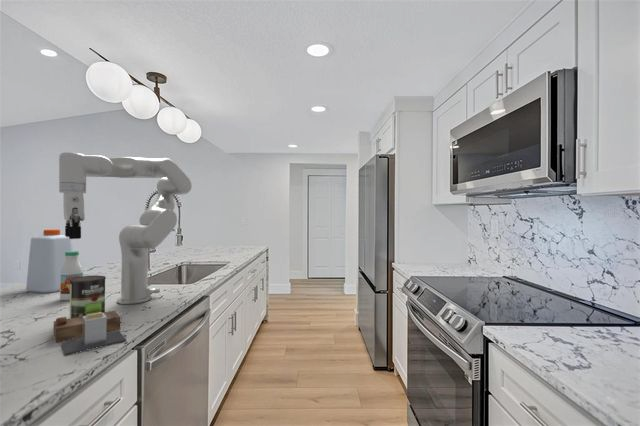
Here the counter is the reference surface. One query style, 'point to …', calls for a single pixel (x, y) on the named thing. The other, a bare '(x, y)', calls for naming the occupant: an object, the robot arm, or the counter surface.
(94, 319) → the lever cap
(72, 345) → the rubber mat
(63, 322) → the brown knobbed block
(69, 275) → the milk bottle
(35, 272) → the plastic bottle
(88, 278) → the coffee can
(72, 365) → the counter surface
